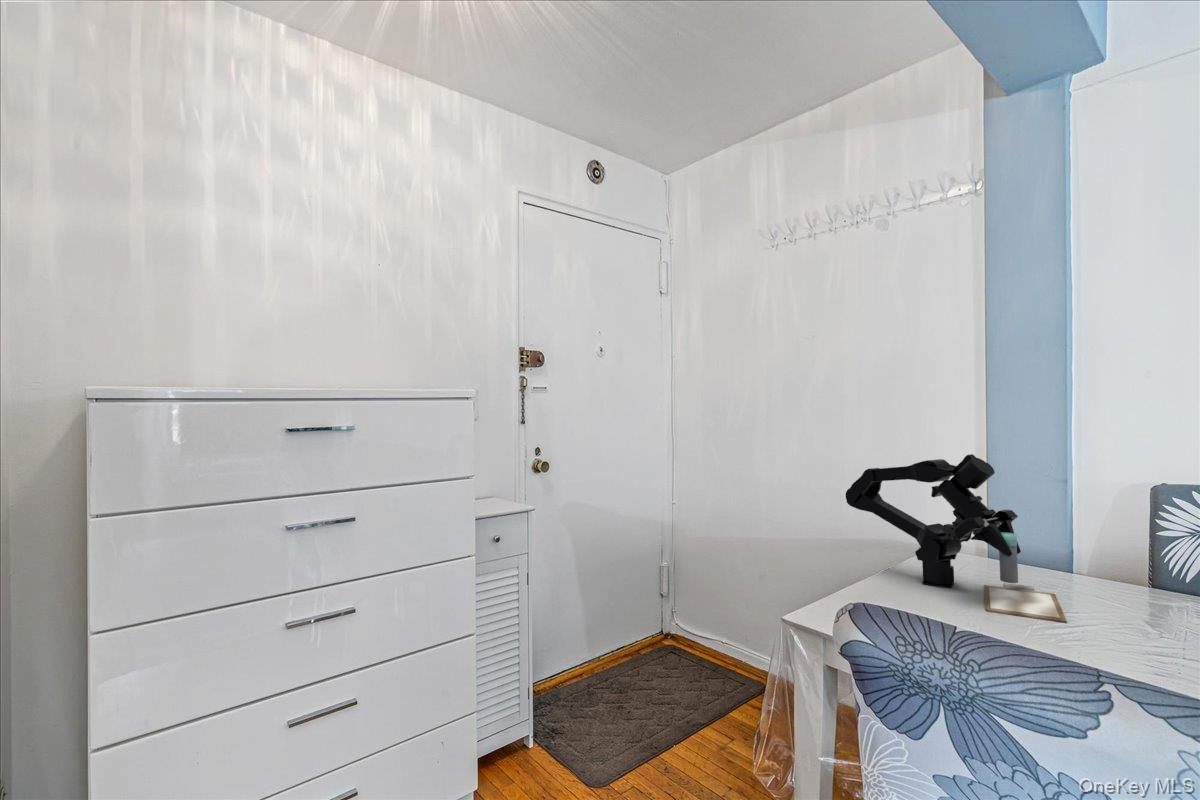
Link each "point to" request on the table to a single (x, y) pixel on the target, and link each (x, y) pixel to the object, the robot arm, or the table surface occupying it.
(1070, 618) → the table surface
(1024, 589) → the clipboard
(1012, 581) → the marker
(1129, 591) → the table surface
